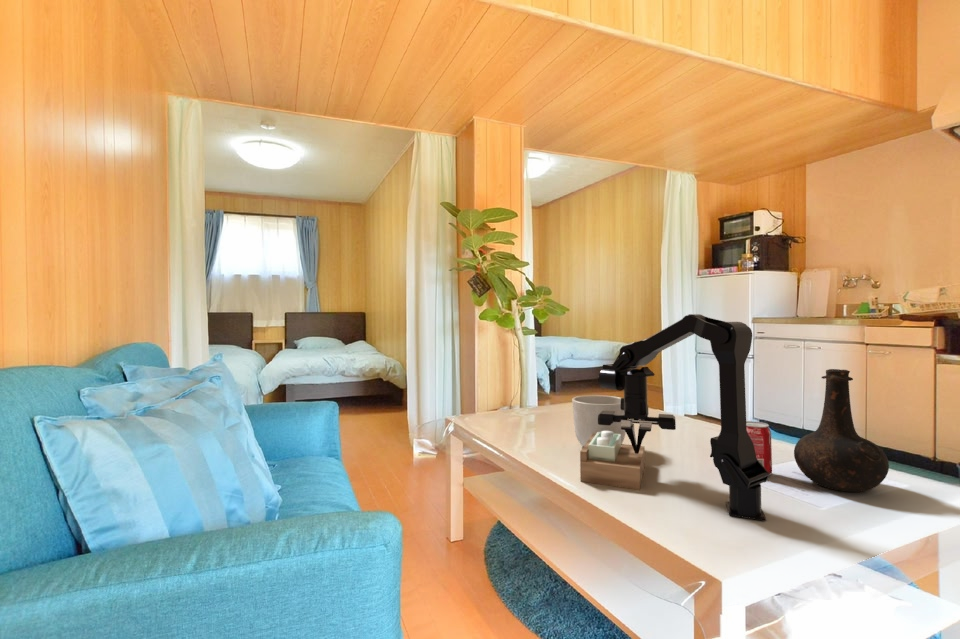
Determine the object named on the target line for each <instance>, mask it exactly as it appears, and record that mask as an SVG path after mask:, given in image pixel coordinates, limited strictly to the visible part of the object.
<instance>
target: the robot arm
mask: <svg viewBox="0 0 960 639" xmlns="http://www.w3.org/2000/svg"><path fill="white" fill-rule="evenodd" d="M694 335H696V336H698V337H700V338H701V339H705V340H707V341H708V342H709V341H710V342H709V344H710V347H711V352H712V353H713V355H714V358H715V359H716V361H717V363H718V376H719V377H718V378H719V379H718V380H719V403H720V405H719V406H720V408H719V409H720V410H719V411H720V432H719V435H717V436H713V437H710V440H709V441H710V449H711V452H710V455H709V457H710V458H712V461H713V466H714V467H715V468H717V470H718V473H719V476H720V478H721V481H722V484H724V485H727V486H728V487H729V488H728V490H729V491H728V493H729V494H728V496H729V497H728V498H729V501H725V506H726V509H727V513H728V515H729V516H731V517H736V518H737V517H738V518H743V519H750V520H757V521H763V522H766V520H767V517H766V516H765V512H764V510H763V509H762V484H763V483H767V482H768V479H769V477H770V476H769V472H768V471H767V470H766V469H765V468H764V467H763V465H762V464H761V463H760V462H759V461H758V460H757V458H756V453H755V449H754V444H753V442H752V440H751V438H750V436H749V435H748V433H747V428H746V421H747V409H746V408H747V405H746V404H747V402H746V401H747V400H746V376H745V364H746V361H747V358H748V356H749V354H750V352H751V348H752V341H753V331H752V328H751V327H749V325H747V324H746V323H744V322H742V321H725V320H721V319H720V320H719V319H716V318H712V317H708V316H704V315H703V314H699V313H695V314H694V313H693V314H692V313H690V314H687V315H685V316H683V317H682V318H681V319H679V320H677V321H676V322H674V323H672V324H670V325H668V326H667V327H665V328H664V329H662V330H660V331H658V332H657V333H655V334H652V335H651V336H649V337H647V338H645V339H642V340H639V341H633V342H631V343H627V344H625V345H622V346H621V347H620V349H619V353H618V355H617V357H616V359H615V360H614V362H613V363H612V364H610V363H606V364H602V369H601V370H600V371H599V373H598V376H597V383H598V386H599V387H600V388H602V389H605V390H611V391H613V390H614V391H623V397H620V398H621V405H620V408H621V410H623V411H624V415H616V414H615V411H601V412H600V414H599V415H598V424H599V425H611V424H612V423H613V422H621V429H622V430H625V432H626V433H625V434H626V435H627V437H628V439H629V441H630V443H631V444H630V445H632V446H633V449H634V452H635V453H636V454H638V453H639V450H640V447H641V446H642V443H643V441H644V438H645V435H646V434H647V433H648V432H652V428H653V427H652V425H655V426H656V425H657V426H658V427H659V428H660V429H661V430H671V431H672V430H673V431H674V430H676V428H677V426H676V425H677V424H676V423H677V422H676V416H675V415H674V414H668V413H659V414H658V416H655V417H654V416H649V405H648V377H655V375H656V374H655V373H654V372H653V371H652V370H651V369H650V367H649V366H647V365H648V364H650V363H651V362H652V361H653V360H655V358H656V357H657V356H658V355H659V353H661V352H662V351H665V350H666V349H668V348H670V347H673V346H674V345H676V344H677V343H680V342H682V341H683V340H685V339H687V338H689V337H691V336H694ZM639 367H641V368H639ZM635 424H639V426H638V431H637V432H638V433H637V437H636V431H635Z"/></svg>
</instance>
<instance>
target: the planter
mask: <svg viewBox="0 0 960 639" xmlns="http://www.w3.org/2000/svg"><path fill="white" fill-rule="evenodd" d="M621 398H622V397H618V396H614V395H613V396H612V395H604V394H603V395H601V394H600V395H597V394H596V395H595V394H593V395H591V394H590V395H577V396H575V397H572V399H571V402H572V403H571V404H572V414H573V427H574V429H573V430H574V433H575V437H576V440H577V441H578V442H579V444H580V445H581V446H582V447H584V445H585V444H586V443H587V441H588V440H589V438H590V437H591V435H592V434H593V433H597V432H601V431H612V432H613V434H621V444H623V442H624V441H625V438H626V434H627V433H626V432H625V430H622V429H621V422H613V423H612V424H611V425H599V424H598V415H599V414H600V412H601V411H615V414H616V415H624V411H623V410H621V408H620V405H621Z"/></svg>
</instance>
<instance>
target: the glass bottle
mask: <svg viewBox="0 0 960 639" xmlns="http://www.w3.org/2000/svg"><path fill="white" fill-rule="evenodd" d="M850 372H851V371H850V370H848V369H839V368H829V369H826V370H825V375H823V376H821V377H820V378H821V379H823V380H824V379H825V391H824V401H823V408H822V415H821V418H820V423H819V425H818V427H817V429H816V430H815V431H812V432H811V433H807V434H806V435H804V436H802V437H801V438H800V439H798V440H797V442H796V444H795V446H794V450H793V455H794V459H795V463H796V464H797V468H799V469H800V472H802V473H803V475H804V476H805V477H806V478H808V479H809V480H811V481H812V482H813V483H815V484H817V485H819V486H820V487H821V486H822V487H824V488H827V489H830V490H835V491H839V492H840V491H841V492H848V493H849V492H850V493H861V492H867V491H869V490H872V489H874V488H876V487H878V486H879V485H880V484H881V483H882V482H883V481H884V480H885V479H886V478H887V475H888V472H889V470H890V464H889V459H888V457H887V454H886V453H885V452H884V450H883V449H882V448H881V447H879V446H878V445H877V444H876V443H874V442H873V441H871V440H869V439H867V438H864V437H861V436H860V435H859V433H857V431H856V428H855V426H854V421H853V414H852V413H853V412H852V407H851V398H850V397H851V396H850V382H849V381H853V380H854V378H853V377H851V376H850V375H849V374H850Z"/></svg>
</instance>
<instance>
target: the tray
mask: <svg viewBox="0 0 960 639" xmlns="http://www.w3.org/2000/svg"><path fill="white" fill-rule="evenodd" d="M620 448H621V434H613V432H612V431H601V432H597V433H596V435H595V436H594V438H593V439H592V441H591V442H590V443H589V445H588V449H589V459H596V460H604V461H613V462H615V460H616V457H617V455H618V453H619V450H620Z"/></svg>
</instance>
